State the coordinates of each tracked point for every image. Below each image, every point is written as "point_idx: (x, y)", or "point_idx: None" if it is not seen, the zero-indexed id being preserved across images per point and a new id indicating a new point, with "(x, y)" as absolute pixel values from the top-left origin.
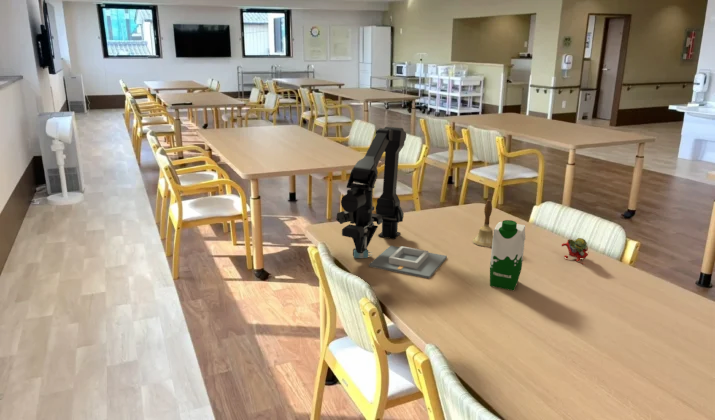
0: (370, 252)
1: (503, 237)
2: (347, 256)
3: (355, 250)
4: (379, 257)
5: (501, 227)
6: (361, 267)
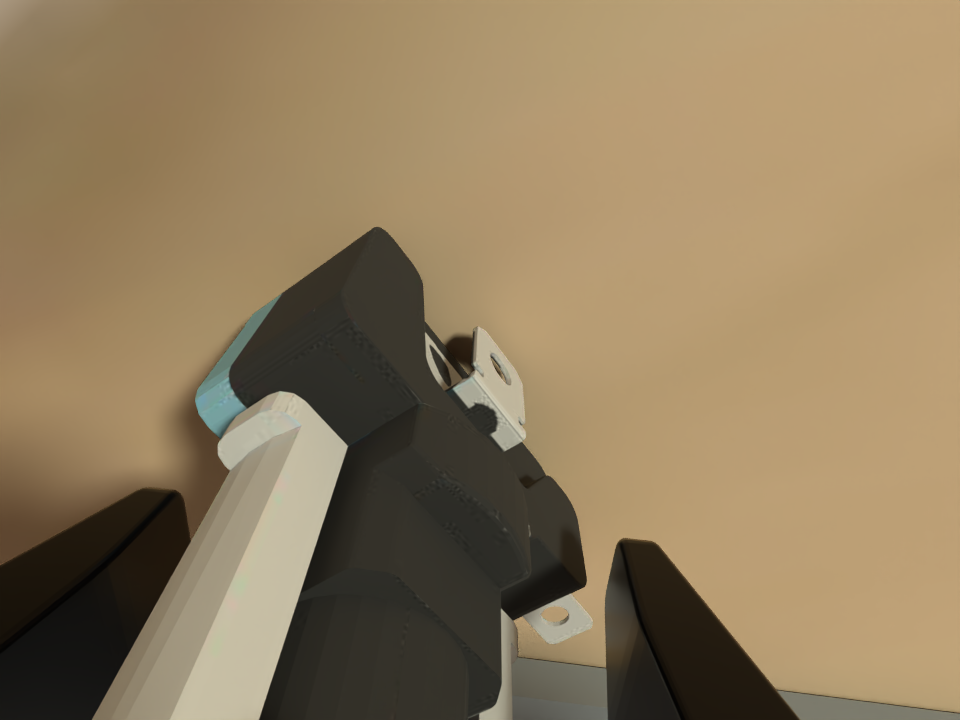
0: (535, 613)
1: None
2: (341, 70)
3: (208, 425)
4: None
5: None
6: (24, 520)
